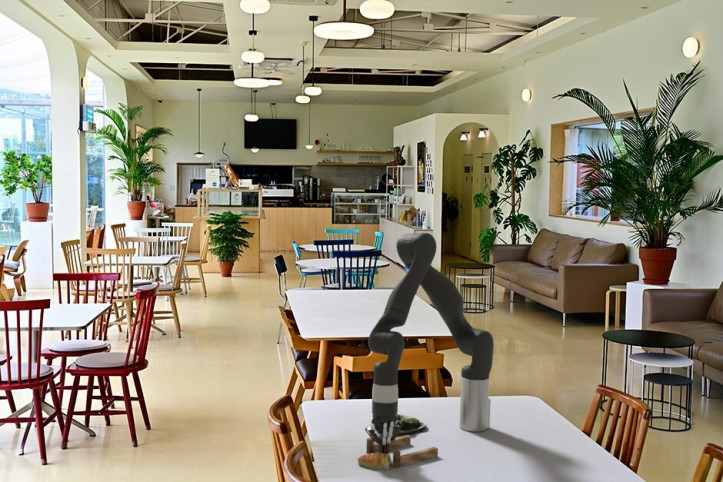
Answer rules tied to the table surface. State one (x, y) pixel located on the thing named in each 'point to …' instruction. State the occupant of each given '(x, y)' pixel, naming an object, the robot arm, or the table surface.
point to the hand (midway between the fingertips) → (383, 455)
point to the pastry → (375, 460)
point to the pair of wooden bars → (398, 459)
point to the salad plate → (409, 425)
